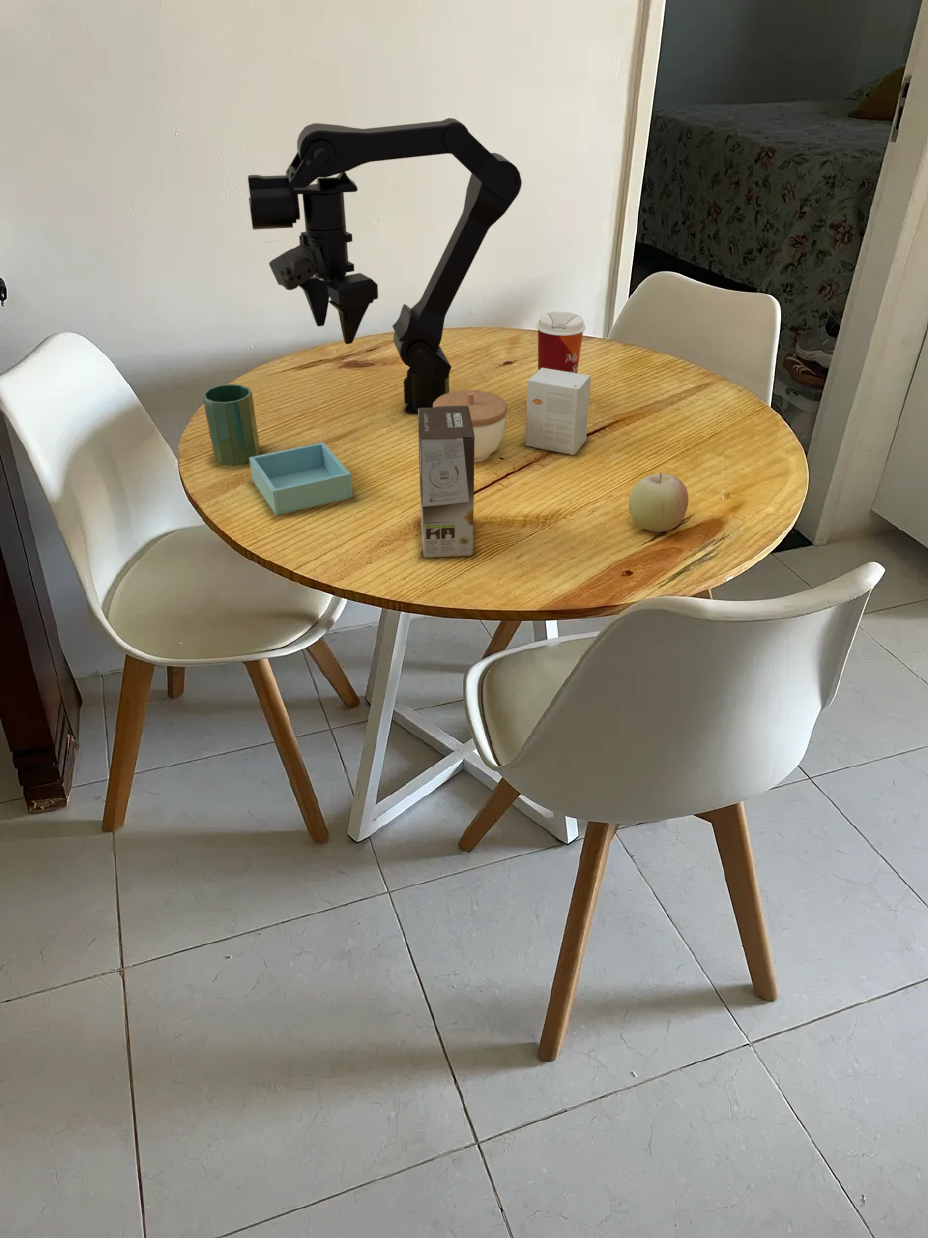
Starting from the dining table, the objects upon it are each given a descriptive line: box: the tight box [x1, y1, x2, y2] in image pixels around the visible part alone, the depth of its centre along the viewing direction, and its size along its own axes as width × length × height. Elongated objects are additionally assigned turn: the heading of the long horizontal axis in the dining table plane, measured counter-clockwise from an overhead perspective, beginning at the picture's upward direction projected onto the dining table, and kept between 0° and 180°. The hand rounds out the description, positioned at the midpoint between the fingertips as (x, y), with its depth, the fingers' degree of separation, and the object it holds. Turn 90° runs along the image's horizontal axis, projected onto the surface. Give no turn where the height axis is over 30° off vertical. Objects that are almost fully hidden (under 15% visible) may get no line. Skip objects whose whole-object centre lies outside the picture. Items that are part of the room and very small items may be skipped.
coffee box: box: [417, 406, 475, 558], centre depth 112 cm, size 9×6×16 cm
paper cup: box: [535, 311, 586, 373], centre depth 147 cm, size 8×8×14 cm
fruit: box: [628, 471, 689, 533], centre depth 118 cm, size 8×7×8 cm
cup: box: [202, 383, 261, 467], centre depth 132 cm, size 7×7×10 cm
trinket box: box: [433, 389, 509, 464], centre depth 134 cm, size 11×11×9 cm
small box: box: [525, 368, 592, 456], centre depth 136 cm, size 8×6×10 cm
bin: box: [249, 441, 354, 516], centre depth 126 cm, size 11×11×4 cm
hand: (334, 334), depth 139 cm, fingers open, 9 cm apart
